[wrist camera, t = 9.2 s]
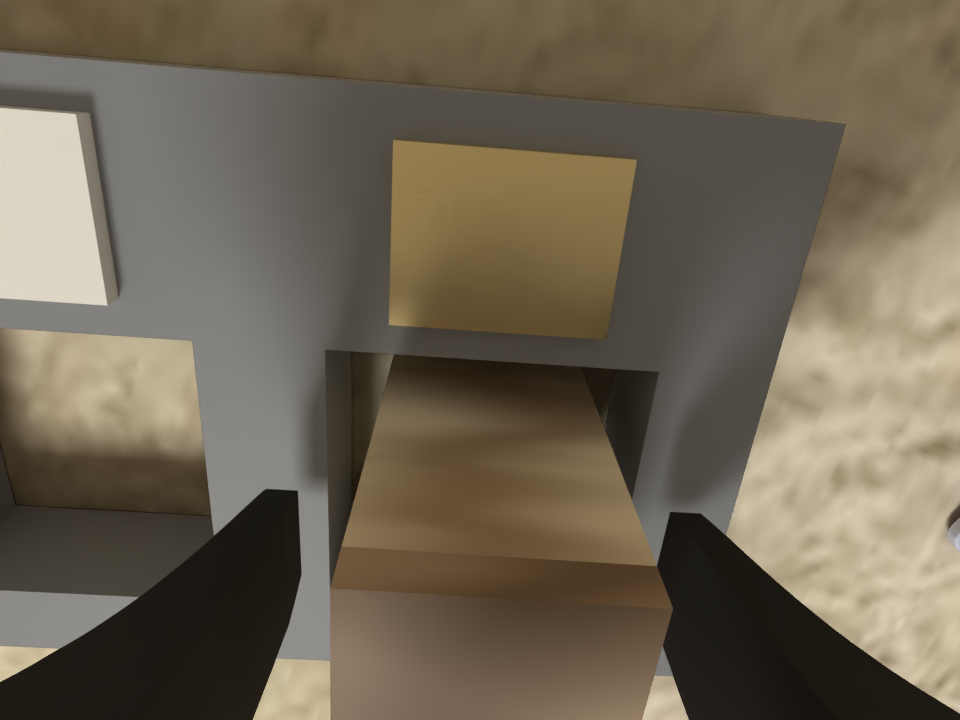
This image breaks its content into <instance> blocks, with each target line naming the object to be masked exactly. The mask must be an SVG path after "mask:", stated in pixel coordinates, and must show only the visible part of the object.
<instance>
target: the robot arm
mask: <svg viewBox="0 0 960 720" xmlns="http://www.w3.org/2000/svg"><path fill="white" fill-rule="evenodd" d="M947 538H948V541H949V542H950V543H951V544H952V545H953V546H954V547H955V548H956V549H957V550H959V551H960V517H959V518H958V519H957V520H956V521H955V522H954V523H953V524H952V526H951V527H950V529H949V530H948V534H947ZM657 568H658V570H659V573H660V575H661V578H662V581H663V583H664V586H665V589H666V591H667V594H668V596H669V599H670V602H671V604H672V607H673V611H672V614H671V618H670V622H669V625H668V629H667V632H666V636H665V639H664V643H663V648H664V651H665V654H666V657H667V660H668V663H669V666H670V668H671V671H672V674H673V677H674V680H675V683H676V685H677V688H678V691H679V694H680V696H681V699H682V702H683V705H684V707H685V710H686V713H687V716H688V718H689V720H960V714H959V713H958V712H956V711H954V710H953V709H951V708H949V707H948V706H946V705H945V704H943V703H941V702H940V701H938V700H937V699H935V698H933V697H932V696H930V695H928V694H927V693H925V692H924V691H922V690H920V689H919V688H917V687H916V686H914V685H912V684H911V683H909V682H908V681H906V680H905V679H903V678H902V677H900V676H899V675H897V674H896V673H894V672H893V671H891V670H890V669H888V668H887V667H885V666H884V665H883V664H881V663H880V662H878V661H877V660H875V659H874V658H873V657H871V656H870V655H868V654H867V653H866V652H864V651H863V650H861V649H860V648H859V647H857V646H856V645H854V644H853V643H851V642H850V641H849V640H848V639H846V638H845V637H844V636H842V635H841V634H840V633H838V632H837V631H836V630H834V629H833V628H832V627H830V626H829V625H828V624H827V623H826V622H824V621H823V620H822V619H821V618H819V617H818V616H817V615H816V614H814V613H813V612H812V611H811V610H809V609H808V608H807V607H806V606H804V605H803V604H802V603H801V602H800V601H798V600H797V599H796V598H795V597H794V596H793V595H791V594H790V593H789V592H788V591H787V590H786V589H784V588H783V587H782V586H781V585H780V584H779V583H777V582H776V581H775V580H774V579H773V578H772V577H771V576H770V575H768V574H767V573H766V572H765V571H764V570H763V569H762V568H761V567H760V566H758V565H757V564H756V563H755V562H754V561H753V560H752V559H751V558H750V557H749V556H748V555H746V554H745V553H744V552H743V551H742V550H741V549H740V548H739V547H738V546H737V545H736V544H735V543H733V542H732V541H731V540H730V539H729V538H728V537H727V536H726V535H725V534H724V533H723V532H721V531H720V530H719V529H718V528H717V527H716V526H715V525H714V524H713V523H711V522H710V521H709V520H708V519H707V518H706V517H704V516H703V515H702V514H701V513H684V512H670V514H669V518H668V522H667V526H666V530H665V535H664V539H663V543H662V547H661V551H660V555H659V559H658V563H657ZM301 575H302V571H301V548H300V525H299V502H298V491H297V490H279V489H265V490H264V491H262V492H261V493H260V494H259V495H258V496H257V497H256V498H254V499H253V500H252V501H251V502H250V503H249V504H248V505H247V506H246V507H245V508H244V509H243V510H242V511H240V512H239V513H238V514H237V515H236V516H235V517H234V518H233V519H232V520H231V521H230V522H229V523H227V524H226V525H225V526H224V527H223V528H222V529H221V530H220V531H219V532H218V533H216V534H215V535H214V536H213V537H212V538H211V539H210V540H208V541H207V542H206V543H205V544H204V545H203V546H202V547H200V548H199V549H198V550H197V551H196V552H195V553H194V554H192V555H191V556H190V557H189V558H188V559H187V560H185V561H184V562H183V563H182V564H181V565H179V566H178V567H177V568H176V569H174V570H173V571H172V572H171V573H169V574H168V575H167V576H166V577H164V578H163V579H162V580H161V581H159V582H158V583H157V584H155V585H154V586H153V587H152V588H150V589H149V590H148V591H147V592H145V593H144V594H143V595H141V596H140V597H139V598H137V599H136V600H134V601H133V602H132V603H130V604H129V605H127V606H126V607H125V608H123V609H122V610H120V611H119V612H117V613H116V614H114V615H113V616H111V617H110V618H108V619H107V620H105V621H104V622H102V623H101V624H99V625H98V626H96V627H95V628H93V629H92V630H90V631H89V632H87V633H85V634H84V635H82V636H80V637H79V638H77V639H75V640H74V641H72V642H70V643H69V644H67V645H65V646H63V647H62V648H60V649H58V650H57V651H55V652H53V653H52V654H50V655H48V656H46V657H45V658H43V659H41V660H40V661H38V662H36V663H35V664H33V665H31V666H29V667H28V668H26V669H24V670H22V671H20V672H19V673H17V674H15V675H13V676H11V677H9V678H7V679H5V680H3V681H2V682H0V720H253V717H254V715H255V712H256V710H257V707H258V704H259V702H260V699H261V697H262V694H263V691H264V689H265V686H266V684H267V681H268V679H269V676H270V673H271V671H272V668H273V666H274V663H275V660H276V658H277V655H278V653H279V650H280V647H281V645H282V642H283V639H284V637H285V634H286V631H287V629H288V626H289V623H290V619H291V615H292V611H293V608H294V604H295V600H296V596H297V592H298V587H299V583H300V579H301Z"/></svg>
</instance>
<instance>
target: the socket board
mask: <svg viewBox="0 0 960 720" xmlns="http://www.w3.org/2000/svg"><path fill="white" fill-rule="evenodd" d="M845 125H846V124H839V123H831V122H823V121H815V120H808V119H800V118H792V117H784V116H776V115H767V114H756V113H744V112H732V111H721V110H709V109H697V108H686V107H674V106H662V105H650V104H639V103H627V102H615V101H604V100H592V99H580V98H569V97H557V96H545V95H534V94H522V93H510V92H499V91H487V90H475V89H464V88H452V87H440V86H428V85H417V84H405V83H393V82H382V81H370V80H358V79H347V78H335V77H323V76H312V75H300V74H288V73H277V72H265V71H253V70H242V69H230V68H218V67H206V66H195V65H183V64H171V63H160V62H148V61H136V60H125V59H113V58H101V57H90V56H78V55H66V54H55V53H43V52H31V51H20V50H8V49H0V328H8V329H23V330H38V331H53V332H68V333H83V334H98V335H113V336H128V337H143V338H158V339H173V340H188V341H192V344H193V353H194V362H195V371H196V380H197V389H198V398H199V407H200V416H201V425H202V434H203V443H204V452H205V461H206V470H207V479H208V488H209V497H210V506H211V515H212V516H199V515H180V514H162V513H144V512H126V511H107V510H89V509H71V508H53V507H34V506H16V505H15V501H14V497H13V493H12V489H11V486H10V482H9V478H8V474H7V470H6V466H5V463H4V459H3V455H2V451H1V447H0V646H14V647H36V648H58V649H60V648H62V647H63V646H65V645H67V644H69V643H70V642H72V641H74V640H75V639H77V638H79V637H80V636H82V635H84V634H85V633H87V632H89V631H90V630H92V629H93V628H95V627H96V626H98V625H99V624H101V623H102V622H104V621H105V620H107V619H108V618H110V617H111V616H113V615H114V614H116V613H117V612H119V611H120V610H122V609H123V608H125V607H126V606H127V605H129V604H130V603H132V602H133V601H134V600H136V599H137V598H139V597H140V596H141V595H143V594H144V593H145V592H147V591H148V590H149V589H150V588H152V587H153V586H154V585H155V584H157V583H158V582H159V581H161V580H162V579H163V578H164V577H166V576H167V575H168V574H169V573H171V572H172V571H173V570H174V569H176V568H177V567H178V566H179V565H181V564H182V563H183V562H184V561H185V560H187V559H188V558H189V557H190V556H191V555H192V554H194V553H195V552H196V551H197V550H198V549H199V548H200V547H202V546H203V545H204V544H205V543H206V542H207V541H208V540H210V539H211V538H212V537H213V536H214V535H215V534H216V533H218V532H219V531H220V530H221V529H222V528H223V527H224V526H225V525H226V524H227V523H229V522H230V521H231V520H232V519H233V518H234V517H235V516H236V515H237V514H238V513H239V512H240V511H242V510H243V509H244V508H245V507H246V506H247V505H248V504H249V503H250V502H251V501H252V500H253V499H254V498H256V497H257V496H258V495H259V494H260V493H261V492H262V491H264V490H265V489H279V490H297V491H298V502H299V525H300V548H301V571H302V575H301V579H300V583H299V587H298V592H297V596H296V600H295V604H294V608H293V611H292V615H291V619H290V623H289V626H288V629H287V631H286V634H285V637H284V639H283V642H282V645H281V647H280V650H279V653H278V655H277V658H280V659H302V660H324V661H330V587H331V583H332V579H333V576H334V572H335V568H336V565H337V561H338V557H339V554H340V550H341V546H342V543H343V539H344V536H345V532H346V528H347V525H348V521H349V517H350V514H351V510H352V351H353V352H368V353H383V354H398V355H413V356H428V357H443V358H458V359H473V360H488V361H503V362H518V363H533V364H548V365H563V366H578V367H593V368H608V369H616V373H615V378H614V384H613V389H612V395H611V400H610V406H609V411H608V417H607V422H606V428H605V431H606V434H607V436H608V439H609V442H610V444H611V447H612V450H613V452H614V455H615V457H616V460H617V463H618V465H619V468H620V471H621V473H622V476H623V478H624V481H625V484H626V486H627V489H628V492H629V494H630V497H631V499H632V502H633V505H634V507H635V510H636V512H637V515H638V518H639V520H640V523H641V526H642V528H643V531H644V533H645V536H646V539H647V541H648V544H649V547H650V549H651V552H652V554H653V557H654V560H655V562H656V565H657V563H658V559H659V555H660V551H661V547H662V543H663V539H664V535H665V530H666V526H667V522H668V518H669V514H670V512H684V513H701V514H702V515H703V516H704V517H706V518H707V519H708V520H709V521H710V522H711V523H713V524H714V525H715V526H716V527H717V528H718V529H719V530H720V531H721V532H723V533H724V534H725V535H726V533H727V530H728V526H729V523H730V519H731V516H732V512H733V509H734V506H735V502H736V499H737V495H738V492H739V488H740V485H741V482H742V478H743V475H744V471H745V468H746V464H747V461H748V458H749V454H750V451H751V447H752V444H753V440H754V437H755V434H756V430H757V427H758V423H759V420H760V417H761V413H762V410H763V406H764V403H765V399H766V396H767V393H768V389H769V386H770V382H771V379H772V375H773V372H774V369H775V365H776V362H777V358H778V355H779V351H780V348H781V345H782V341H783V338H784V334H785V331H786V327H787V324H788V321H789V317H790V314H791V310H792V307H793V303H794V300H795V297H796V293H797V290H798V286H799V283H800V280H801V276H802V273H803V269H804V266H805V262H806V259H807V256H808V252H809V249H810V245H811V242H812V238H813V235H814V232H815V228H816V225H817V221H818V218H819V214H820V211H821V208H822V204H823V201H824V197H825V194H826V190H827V187H828V184H829V180H830V177H831V173H832V170H833V166H834V163H835V160H836V156H837V153H838V149H839V146H840V143H841V139H842V136H843V132H844V129H845ZM655 675H656V676H673V674H672V671H671V668H670V666H669V663H668V660H667V657H666V654H665V651H664V648H663V646H662V650H661V653H660V657H659V661H658V664H657V668H656V671H655Z"/></svg>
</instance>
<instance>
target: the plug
mask: <svg viewBox="0 0 960 720" xmlns="http://www.w3.org/2000/svg"><path fill="white" fill-rule="evenodd" d="M672 611H673V607H672V604H671V602H670V599H669V596H668V594H667V591H666V589H665V586H664V583H663V581H662V578H661V575H660V573H659V570H658V568H657V565H656V562H655V560H654V557H653V554H652V552H651V549H650V547H649V544H648V541H647V539H646V536H645V533H644V531H643V528H642V526H641V523H640V520H639V518H638V515H637V512H636V510H635V507H634V505H633V502H632V499H631V497H630V494H629V492H628V489H627V486H626V484H625V481H624V478H623V476H622V473H621V471H620V468H619V465H618V463H617V460H616V457H615V455H614V452H613V450H612V447H611V444H610V442H609V439H608V436H607V434H606V431H605V429H604V426H603V423H602V421H601V418H600V415H599V413H598V410H597V408H596V405H595V402H594V400H593V397H592V394H591V392H590V389H589V387H588V384H587V381H586V379H585V376H584V373H583V371H582V368H581V367H578V366H563V365H548V364H533V363H518V362H503V361H488V360H473V359H458V358H443V357H428V356H413V355H398V354H394V357H393V360H392V364H391V368H390V371H389V375H388V379H387V382H386V386H385V390H384V393H383V397H382V401H381V404H380V408H379V412H378V415H377V419H376V422H375V426H374V430H373V433H372V437H371V441H370V444H369V448H368V452H367V455H366V459H365V463H364V466H363V470H362V474H361V477H360V481H359V484H358V488H357V492H356V495H355V499H354V503H353V506H352V510H351V514H350V517H349V521H348V525H347V528H346V532H345V536H344V539H343V543H342V546H341V550H340V554H339V557H338V561H337V565H336V568H335V572H334V576H333V579H332V583H331V587H330V681H331V720H642V717H643V714H644V710H645V707H646V703H647V700H648V696H649V692H650V689H651V685H652V682H653V678H654V675H655V671H656V668H657V664H658V661H659V657H660V653H661V650H662V646H663V643H664V639H665V636H666V632H667V629H668V625H669V622H670V618H671V614H672Z"/></svg>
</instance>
